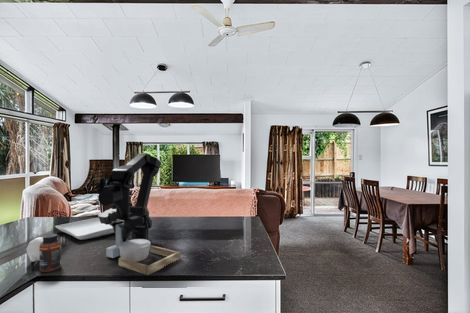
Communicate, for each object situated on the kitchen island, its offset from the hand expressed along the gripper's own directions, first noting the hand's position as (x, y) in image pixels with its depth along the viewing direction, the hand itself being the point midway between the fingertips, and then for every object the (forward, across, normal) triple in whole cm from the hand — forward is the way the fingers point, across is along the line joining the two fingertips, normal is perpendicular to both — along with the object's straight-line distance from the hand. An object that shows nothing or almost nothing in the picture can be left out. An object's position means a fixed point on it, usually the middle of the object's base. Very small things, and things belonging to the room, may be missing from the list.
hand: (121, 241), depth 101 cm
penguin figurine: (+6, -21, -17) cm, 27 cm away
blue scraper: (+4, 0, 0) cm, 5 cm away
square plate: (+6, -38, +13) cm, 41 cm away
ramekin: (+5, +8, 0) cm, 9 cm away
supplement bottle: (+5, -9, -21) cm, 23 cm away
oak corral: (+5, +15, 0) cm, 16 cm away
